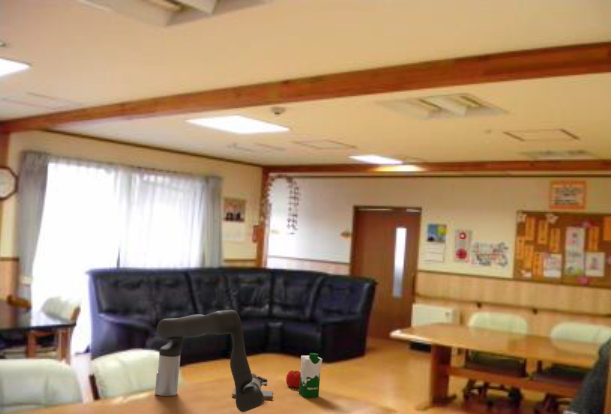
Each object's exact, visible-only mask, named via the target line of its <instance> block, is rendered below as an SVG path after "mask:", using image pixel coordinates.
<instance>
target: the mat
mask: <svg viewBox="0 0 611 414" xmlns="http://www.w3.org/2000/svg"><path fill="white" fill-rule="evenodd" d="M261 391H262V393H263V395H271V396H272V397H273V391H272V390H261ZM232 393H236V390H235V388H233V391H232Z"/></svg>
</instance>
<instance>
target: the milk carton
mask: <svg viewBox="0 0 611 414" xmlns="http://www.w3.org/2000/svg"><path fill="white" fill-rule="evenodd" d="M300 362H301V364H300V365H301V366H300V372H301V375H300V387H298V389H299V390H298V395H300V396H301V397H303V398H304V399H311V398H312V399H313V398H314V399H315V398H319V394H320V381H321V371H322V369H321V368H322V363H323V358H321V357H319V353H316V352H310V353H309V355H301V356H300Z"/></svg>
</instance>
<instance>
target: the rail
mask: <svg viewBox="0 0 611 414" xmlns="http://www.w3.org/2000/svg"><path fill="white" fill-rule="evenodd" d="M231 394H232V395H231V398H232V399H233V398H234V399H236V393H233V392H232V393H231ZM263 396H264V401H273V395H272V396H271V395H263Z"/></svg>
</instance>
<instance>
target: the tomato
mask: <svg viewBox="0 0 611 414" xmlns="http://www.w3.org/2000/svg"><path fill="white" fill-rule="evenodd" d="M300 375H301V370H289V371H288V373H287V374H286V377H285V383H286V385H287V386H288V387H289V388H295V389H297V388H299V387H300Z"/></svg>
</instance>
